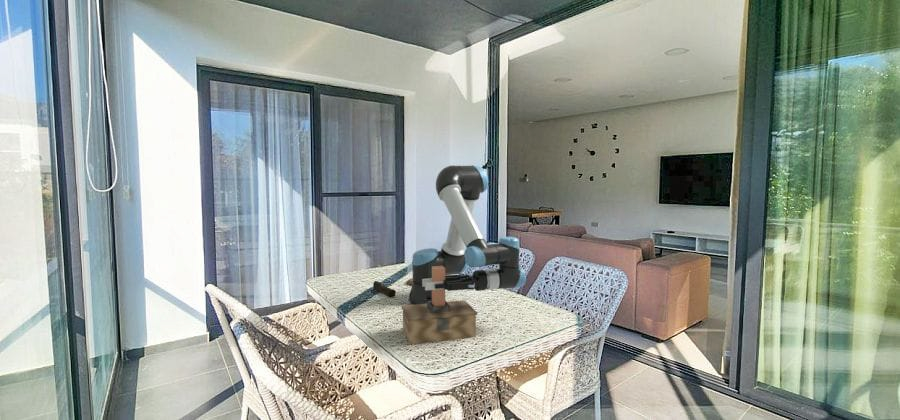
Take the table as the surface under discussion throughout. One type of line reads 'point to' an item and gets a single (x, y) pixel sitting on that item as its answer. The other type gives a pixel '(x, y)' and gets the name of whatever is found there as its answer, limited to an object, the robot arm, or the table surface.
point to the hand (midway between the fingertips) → (424, 284)
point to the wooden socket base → (438, 322)
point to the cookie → (410, 282)
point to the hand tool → (384, 289)
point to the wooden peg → (439, 294)
